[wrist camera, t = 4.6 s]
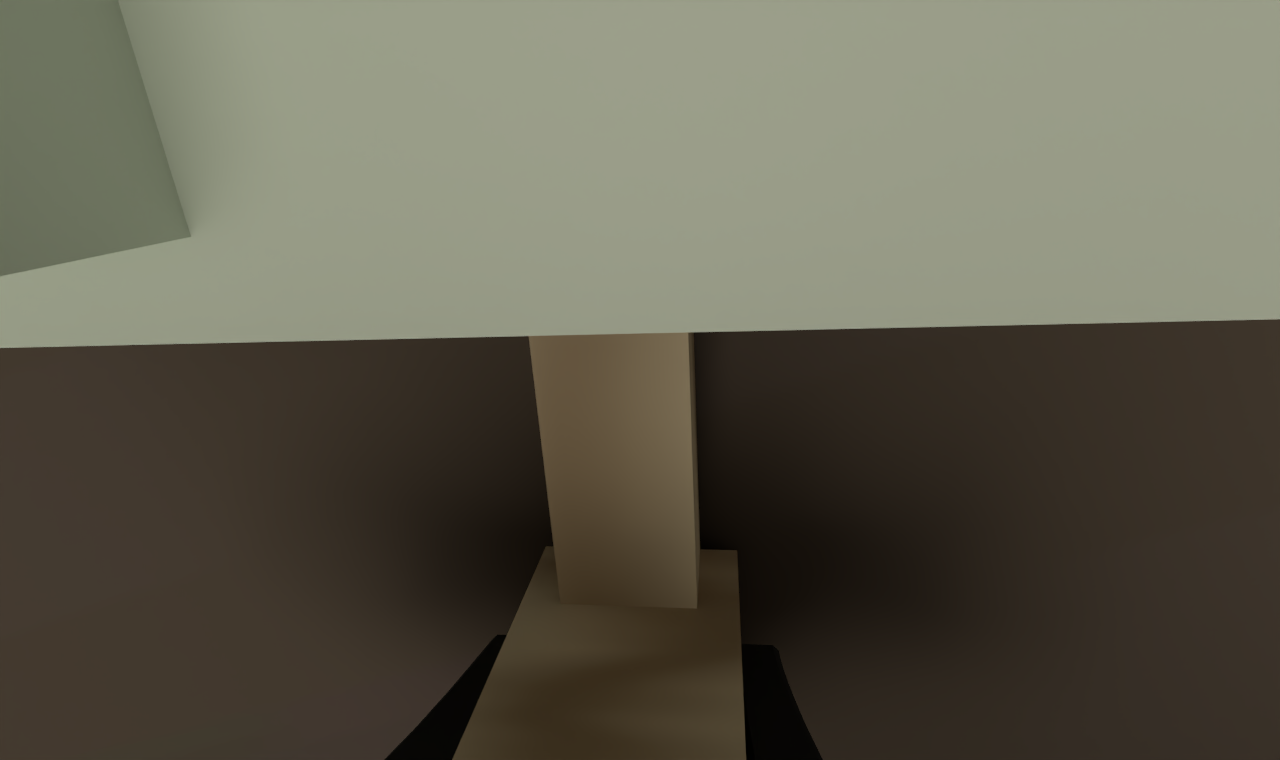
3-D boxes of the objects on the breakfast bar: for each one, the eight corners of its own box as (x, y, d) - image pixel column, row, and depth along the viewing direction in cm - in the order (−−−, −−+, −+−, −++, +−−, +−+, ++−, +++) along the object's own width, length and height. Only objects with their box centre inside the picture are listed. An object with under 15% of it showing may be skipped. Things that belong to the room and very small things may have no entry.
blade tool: (842, -192, 9) (1059, -797, 3) (806, 706, 14) (864, 1073, 8) (365, -132, 10) (-122, -518, 4) (501, 690, 15) (372, 1012, 9)
